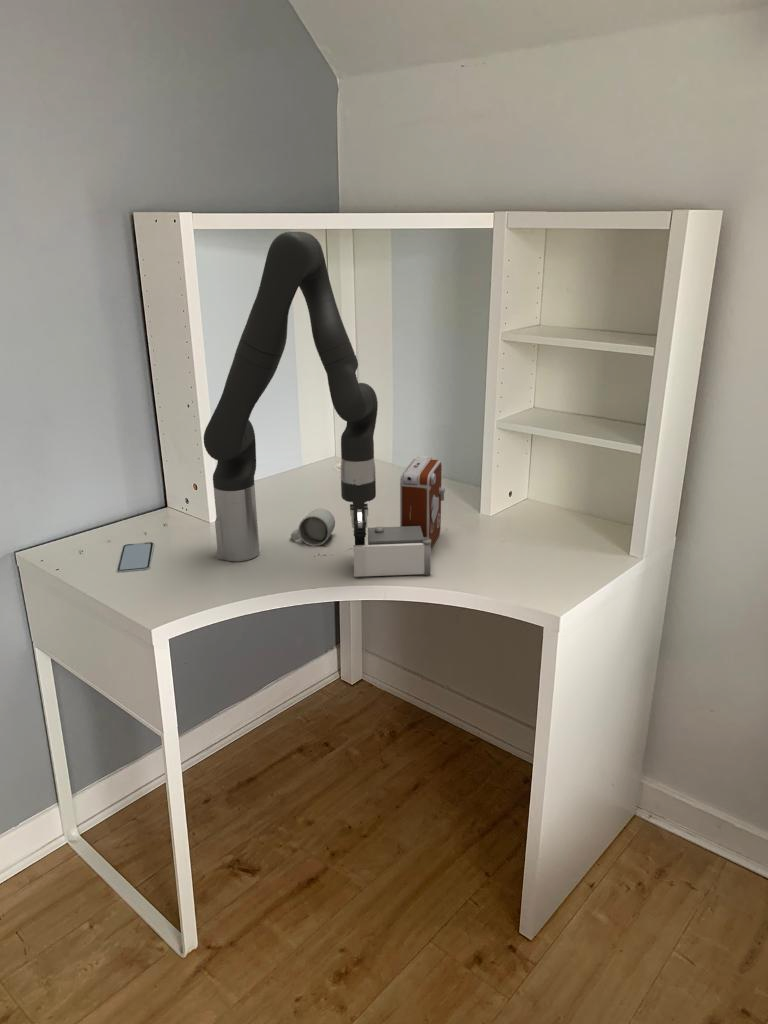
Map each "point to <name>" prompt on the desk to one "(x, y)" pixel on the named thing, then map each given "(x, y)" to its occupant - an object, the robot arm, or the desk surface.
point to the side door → (392, 559)
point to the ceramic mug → (315, 527)
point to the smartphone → (136, 557)
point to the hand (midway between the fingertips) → (360, 550)
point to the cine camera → (422, 496)
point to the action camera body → (396, 535)
